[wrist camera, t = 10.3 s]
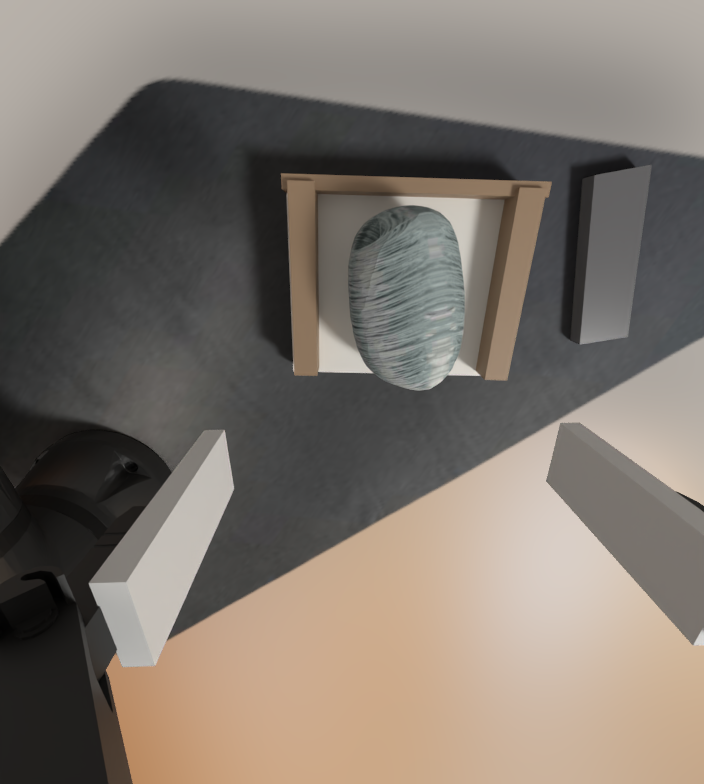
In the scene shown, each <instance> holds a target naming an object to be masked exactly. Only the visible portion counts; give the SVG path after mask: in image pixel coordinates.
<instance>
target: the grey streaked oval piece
mask: <svg viewBox="0 0 704 784" xmlns="http://www.w3.org/2000/svg"><path fill="white" fill-rule="evenodd" d="M348 291H349V306H350V318H351V323H352V328H353V334H354V338H355V341H356V345H357V348H358V351H359V353H360V355H361V358H362V360H363V361H364V363H365V365H366V366H367V367H368V368H369V369H370V370H371V371H372V372H373V373H374V374H376V375H377V376H378V377H380V378H381V379H382V380H384V381H386V382H389V383H392V384H394V385H397V386H400V387H403V388H407V389H411V390H425V389H431V388H432V387H434V386H436V385H437V384H439V383H440V382H441V381H443V379H444V378H445V377H446V376H447V375H448V374H449V372H450V371H451V370H452V368H453V366H454V363H455V361H456V359H457V357H458V355H459V352H460V348H461V342H462V337H463V331H464V318H465V290H464V279H463V271H462V263H461V256H460V251H459V244H458V240H457V237H456V235H455V232H454V229H453V227H452V225H451V223H450V221H449V220H448V219H447V218H446V217H445V216H444V215H442V214H441V213H440V212H438V211H436V210H434V209H431V208H428V207H424V206H415V205H406V206H399V207H395V208H391V209H387V210H384V211H382V212H381V213H379V214H377V215H375V216H373V217H372V218H370V219H369V220H368V221H366V222H365V223H364V224H363V225H362V227H361V228H360V229H359V231H358V232H357V234H356V236H355V238H354V241H353V244H352V247H351V253H350V258H349V265H348Z"/></svg>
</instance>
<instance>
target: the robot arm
mask: <svg viewBox="0 0 704 784" xmlns="http://www.w3.org/2000/svg"><path fill="white" fill-rule="evenodd" d="M546 481H547V483H548V484H549V485H550V486H551V487H552V488H553V489H554V490H555V492H556V493H557V494H558V495H559V496H560V497H561V498H562V499H563V500H564V501H565V503H566V504H567V505H568V506H569V507H570V508H571V509H572V511H573V512H574V513H575V514H576V515H577V516H578V517H579V518H580V519H581V521H582V522H583V523H584V524H585V525H586V526H587V527H588V528H589V530H590V531H591V532H592V533H593V534H594V535H595V536H596V537H597V538H598V540H599V541H600V542H601V543H602V544H603V545H604V546H605V547H606V549H607V550H608V551H609V552H610V553H611V554H612V555H613V556H614V558H616V560H617V561H618V562H619V563H620V564H621V565H622V566H623V568H624V569H625V570H626V571H627V572H628V573H629V574H630V575H631V577H632V578H633V579H634V580H635V581H636V582H637V583H638V584H639V586H640V587H641V588H642V589H643V590H644V591H645V592H646V593H647V594H648V596H649V597H650V598H651V599H652V600H653V601H654V602H655V603H656V605H657V606H658V607H659V608H660V609H661V610H662V611H663V612H664V613H665V615H667V617H668V618H669V619H670V620H671V621H672V622H673V623H674V624H675V626H676V627H677V628H678V629H679V630H680V631H681V633H682V634H683V635H684V636H685V637H686V638H687V639H688V640H689V641H690V643H691V644H692V645H704V506H703V505H701V504H700V503H699V502H697V501H695V500H693V499H691V498H689V497H687V496H685V495H683V494H681V493H678V492H676V491H674V490H672V489H671V488H670V487H668V486H667V485H665V484H664V483H663V482H661V481H660V480H658V479H657V478H656V477H654V476H653V475H652V474H650V473H649V472H647V471H646V470H645V469H643V468H642V467H640V466H639V465H637V464H636V463H635V462H633V461H632V460H631V459H629V458H628V457H627V456H625V455H624V454H622V453H621V452H619V451H618V450H617V449H615V448H614V447H613V446H611V445H610V444H608V443H607V442H606V441H604V440H603V439H602V438H600V437H599V436H597V435H596V434H595V433H593V432H592V431H590V430H589V429H588V428H586V427H585V426H583V425H582V424H580V423H561V424H560V427H559V431H558V435H557V439H556V444H555V448H554V452H553V456H552V460H551V464H550V468H549V472H548V476H547V480H546ZM233 490H234V485H233V479H232V473H231V467H230V461H229V454H228V448H227V442H226V436H225V430H204V431H203V433H202V434H201V435H200V437H199V438H198V439H197V441H196V442H195V443H194V445H193V446H192V447H191V448H190V450H189V451H188V452H187V454H186V455H185V456H184V458H183V459H182V460H181V462H180V463H179V464H178V466H177V467H176V468H175V470H174V471H173V472H172V473H171V471H170V470H169V468H168V467H167V465H166V464H165V463H164V462H163V461H162V459H161V458H160V457H159V456H158V455H156V454H155V453H154V452H153V451H152V450H150V449H149V448H148V447H146V446H145V445H143V444H141V443H140V442H138V441H136V440H134V439H132V438H129V437H127V436H124V435H121V434H118V433H114V432H109V431H102V430H88V431H80V432H76V433H73V434H70V435H68V436H66V437H64V438H62V439H61V440H59V441H58V442H56V443H55V444H53V445H52V446H50V447H49V448H47V449H46V450H45V451H43V452H42V453H41V454H40V455H39V456H38V457H37V458H36V460H35V461H34V463H33V464H32V466H31V468H30V470H29V472H28V474H27V475H26V476H25V478H24V479H23V480H22V481H21V482H20V484H19V485H18V486H17V487H16V488H14V487H13V485H12V483H11V482H10V480H9V479H8V477H7V476H6V474H5V473H4V471H3V469H2V468H1V466H0V784H133V783H132V779H131V774H130V770H129V766H128V761H127V757H126V752H125V748H124V743H123V739H122V734H121V731H120V725H119V721H118V717H117V712H116V708H115V703H114V699H113V695H112V690H111V685H110V681H109V677H108V675H107V672H106V669H107V667H108V665H109V663H110V661H111V659H112V658H113V656H114V654H115V652H116V653H117V655H118V657H119V660H120V662H121V665H122V667H135V666H155V665H156V663H157V661H158V658H159V656H160V654H161V652H162V649H163V647H164V645H165V643H166V640H167V638H168V636H169V634H170V631H171V629H172V627H173V625H174V622H175V620H176V618H177V616H178V613H179V611H180V609H181V607H182V604H183V602H184V600H185V598H186V596H187V593H188V591H189V589H190V587H191V584H192V582H193V580H194V578H195V575H196V573H197V571H198V569H199V566H200V564H201V562H202V560H203V557H204V555H205V553H206V551H207V548H208V546H209V544H210V542H211V539H212V537H213V535H214V533H215V530H216V528H217V526H218V524H219V521H220V519H221V517H222V515H223V512H224V510H225V508H226V506H227V504H228V501H229V499H230V497H231V495H232V492H233Z"/></svg>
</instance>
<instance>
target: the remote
mask: <svg viewBox="0 0 704 784" xmlns="http://www.w3.org/2000/svg"><path fill="white" fill-rule="evenodd" d="M651 167H652V165H647V166H642V167H636V168H631V169H625V170H620V171H614V172H609V173H603V174H598V175H593V176H590V177H587V178H583V179H582V192H581V205H580V218H579V232H578V245H577V258H576V271H575V284H574V297H573V310H572V324H571V337H570V341H573V342H575V343H578V344H585V343H592V342H598V341H605V340H611V339H617V338H624V337H628V330H629V323H630V316H631V309H632V302H633V295H634V288H635V281H636V274H637V266H638V259H639V252H640V245H641V238H642V231H643V224H644V217H645V210H646V202H647V195H648V188H649V181H650V174H651Z"/></svg>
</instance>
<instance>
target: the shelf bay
mask: <svg viewBox="0 0 704 784" xmlns="http://www.w3.org/2000/svg"><path fill="white" fill-rule="evenodd" d="M551 184H552V182H542V181H510V180H478V179H445V178H413V177H381V176H349V175H316V174H284V173H281V185H282V190H283V191H285V192H286V198H287V223H288V248H289V273H290V298H291V323H292V348H293V371H294V375H306V376H317V374H318V372H344V373H373V372H372V371H371V370H370V369H369V368H368V367H367V366H366V365H365V363H364V361H363V360H362V358H361V355H360V353H359V351H358V348H357V345H356V341H355V338H354V334H353V328H352V323H351V318H350V306H349V291H348V265H349V258H350V253H351V247H352V244H353V241H354V238H355V236H356V234H357V232H358V231H359V229H360V228H361V227H362V225H363V224H364V223H365V222H366V221H368V220H369V219H370V218H372V217H373V216H375V215H377V214H379V213H381V212H382V211H384V210H387V209H391V208H395V207H399V206H406V205H415V206H424V207H428V208H431V209H434V210H436V211H438V212H440V213H441V214H442V215H444V216H445V217H446V218H447V219H448V220H449V221H450V223H451V225H452V227H453V229H454V232H455V235H456V237H457V240H458V244H459V251H460V256H461V263H462V271H463V279H464V290H465V318H464V331H463V337H462V342H461V348H460V352H459V355H458V357H457V359H456V361H455V363H454V366H453V368H452V370H451V371H450V372H449V374H448V375H468V376H481V377H482V378H483V379H484V380H507V378H508V373H509V368H510V363H511V359H512V354H513V349H514V344H515V339H516V335H517V330H518V325H519V320H520V316H521V311H522V306H523V301H524V296H525V292H526V287H527V282H528V277H529V272H530V268H531V263H532V258H533V253H534V248H535V244H536V239H537V234H538V229H539V225H540V220H541V215H542V210H543V205H544V201H545V198H547V197H549V193H550V188H551Z"/></svg>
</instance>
